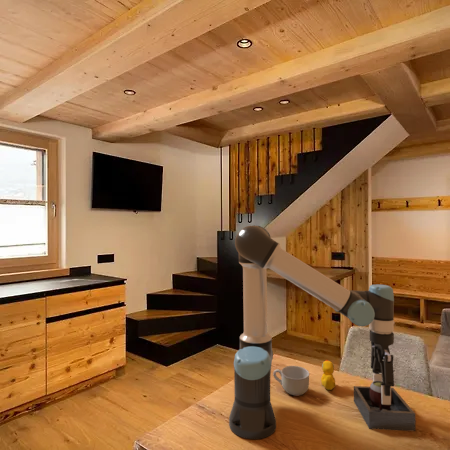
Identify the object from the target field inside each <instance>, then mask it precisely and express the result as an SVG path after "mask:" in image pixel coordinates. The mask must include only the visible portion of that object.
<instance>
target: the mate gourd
mask: <svg viewBox="0 0 450 450" xmlns="http://www.w3.org/2000/svg"><path fill="white" fill-rule="evenodd" d="M395 371H396V370H395V369H393V373H394V372H395ZM380 383H383V381H374V382H373V381H372V382H371V384H370V386H369V387H370V391H369V393H370V400H371V406H372V407H377V408H379V410H382V409H386V410H391V408H390V406H391V405H383V404H382V403H381V384H380ZM391 403H392V391H391Z"/></svg>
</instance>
